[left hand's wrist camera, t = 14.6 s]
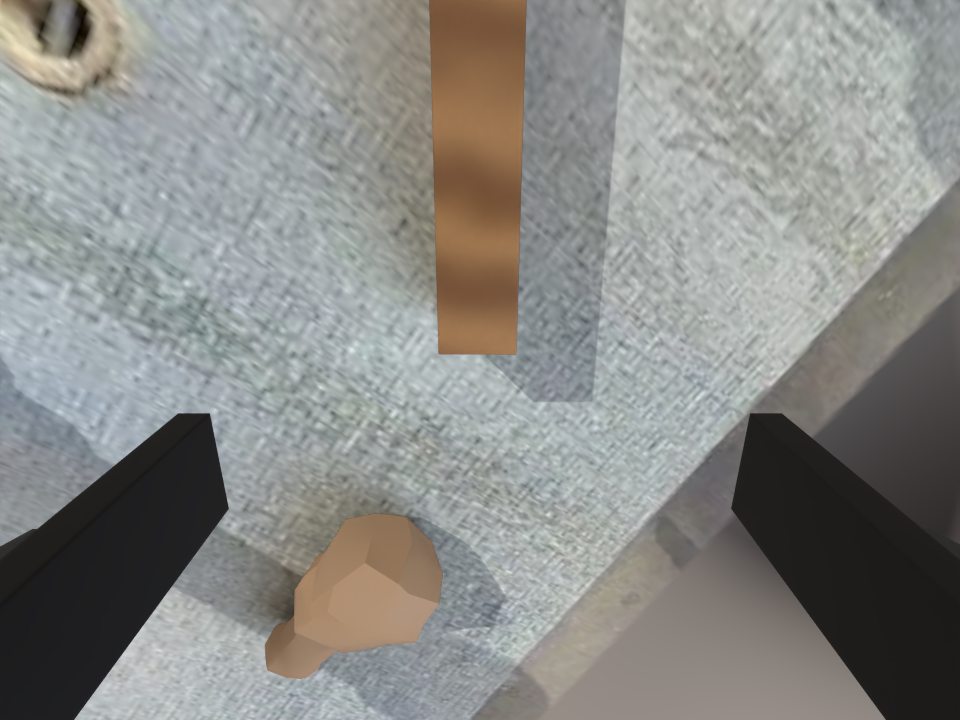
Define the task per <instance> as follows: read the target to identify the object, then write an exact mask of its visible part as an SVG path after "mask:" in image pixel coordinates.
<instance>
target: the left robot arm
mask: <svg viewBox="0 0 960 720" xmlns="http://www.w3.org/2000/svg"><path fill="white" fill-rule="evenodd" d="M228 509H229V507H228V502H227V497H226V492H225V487H224V482H223V477H222V472H221V467H220V462H219V457H218V452H217V447H216V442H215V437H214V432H213V427H212V422H211V417H210V413H178V414H177V415H176V416H175V417H173V418H172V419H171V420H170V421H168V422H167V423H166V424H165V425H164V426H162V427H161V428H160V429H159V430H158V431H156V432H155V433H154V434H153V435H151V436H150V437H149V438H148V439H147V440H145V441H144V442H143V443H142V444H140V445H139V446H138V447H137V448H136V449H134V450H133V451H132V452H131V453H129V454H128V455H127V456H126V457H125V458H123V459H122V460H121V461H120V462H119V463H117V464H116V465H115V466H114V467H112V468H111V469H110V470H109V471H108V472H106V473H105V474H104V475H103V476H101V477H100V478H99V479H98V480H97V481H95V482H94V483H93V484H92V485H90V486H89V487H88V488H87V489H86V490H84V491H83V492H82V493H81V494H79V495H78V496H77V497H76V498H75V499H73V500H72V501H71V502H70V503H69V504H67V505H66V506H65V507H64V508H62V509H61V510H60V511H59V512H58V513H56V514H55V515H54V516H53V517H51V518H50V519H49V520H48V521H47V522H45V523H44V524H43V525H42V526H40V527H39V528H38V529H32V530H30V531H28V532H26V533H24V534H23V535H21V536H19V537H17V538H15V539H13V540H12V541H10V542H8V543H6V544H4V545H2V546H0V720H74V719H75V718H76V716H77V715H78V714H79V712H80V711H81V710H82V708H83V707H84V705H85V704H86V703H87V701H88V700H89V699H90V697H91V696H92V695H93V693H94V692H95V690H96V689H97V688H98V686H99V685H100V684H101V682H102V681H103V680H104V678H105V677H106V675H107V674H108V673H109V671H110V670H111V669H112V667H113V666H114V665H115V663H116V662H117V660H118V659H119V658H120V656H121V655H122V654H123V652H124V651H125V650H126V648H127V647H128V645H129V644H130V643H131V641H132V640H133V639H134V637H135V636H136V635H137V633H138V632H139V630H140V629H141V628H142V626H143V625H144V624H145V622H146V621H147V620H148V618H149V617H150V615H151V614H152V613H153V611H154V610H155V609H156V607H157V606H158V605H159V603H160V602H161V600H162V599H163V598H164V596H165V595H166V594H167V592H168V591H169V590H170V588H171V587H172V585H173V584H174V583H175V581H176V580H177V579H178V577H179V576H180V575H181V573H182V572H183V570H184V569H185V568H186V566H187V565H188V564H189V562H190V561H191V560H192V558H193V557H194V555H195V554H196V553H197V551H198V550H199V549H200V547H201V546H202V545H203V543H204V542H205V540H206V539H207V538H208V536H209V535H210V534H211V532H212V531H213V530H214V528H215V527H216V525H217V524H218V523H219V521H220V520H221V519H222V517H223V516H224V514H225V513H226V512H227V510H228ZM731 509H732V510H733V512H734V513H735V514H736V516H737V517H738V519H739V520H740V521H741V523H742V524H743V525H744V527H745V528H746V529H747V531H748V532H749V533H750V535H751V536H752V538H753V539H754V540H755V542H756V543H757V545H758V546H759V547H760V549H761V550H762V551H763V553H764V554H765V555H766V557H767V558H768V559H769V561H770V562H771V564H772V565H773V566H774V568H775V569H776V570H777V572H778V573H779V574H780V576H781V577H782V579H783V580H784V581H785V583H786V584H787V585H788V587H789V588H790V590H791V591H792V592H793V594H794V595H795V596H796V598H797V599H798V600H799V602H800V603H801V605H802V606H803V607H804V609H805V610H806V611H807V613H808V614H809V615H810V617H811V618H812V619H813V621H814V622H815V624H816V625H817V626H818V628H819V629H820V630H821V632H822V633H823V635H824V636H825V637H826V639H827V640H828V641H829V643H830V644H831V645H832V647H833V648H834V650H835V651H836V652H837V654H838V655H839V656H840V658H841V659H842V660H843V662H844V663H845V665H846V666H847V667H848V669H849V670H850V671H851V673H852V674H853V675H854V677H855V678H856V680H857V681H858V682H859V684H860V685H861V686H862V688H863V689H864V690H865V692H866V693H867V695H868V696H869V697H870V699H871V700H872V701H873V703H874V704H875V705H876V707H877V708H878V710H879V711H880V712H881V714H882V715H883V716H884V718H885V719H886V720H960V544H958V543H956V542H954V541H953V540H951V539H949V538H947V537H945V536H943V535H941V534H940V533H938V532H936V531H934V530H932V529H930V528H928V527H919V526H918V525H917V524H916V523H915V522H913V521H912V520H911V519H910V518H908V517H907V516H906V515H905V514H904V513H902V512H901V511H900V510H899V509H898V508H896V507H895V506H894V505H893V504H891V503H890V502H889V501H888V500H887V499H885V498H884V497H883V496H882V495H880V494H879V493H878V492H877V491H876V490H874V489H873V488H872V487H871V486H869V485H868V484H867V483H866V482H865V481H863V480H862V479H861V478H860V477H859V476H857V475H856V474H855V473H854V472H852V471H851V470H850V469H849V468H848V467H846V466H845V465H844V464H843V463H841V462H840V461H839V460H838V459H837V458H835V457H834V456H833V455H832V454H831V453H829V452H828V451H827V450H826V449H824V448H823V447H822V446H821V445H820V444H818V443H817V442H816V441H815V440H813V439H812V438H811V437H810V436H809V435H807V434H806V433H805V432H804V431H802V430H801V429H800V428H799V427H798V426H796V425H795V424H794V423H793V422H792V421H790V420H789V419H788V418H787V417H785V416H784V415H783V414H782V413H750V417H749V422H748V427H747V432H746V437H745V442H744V447H743V452H742V457H741V462H740V467H739V472H738V477H737V482H736V487H735V492H734V497H733V502H732V507H731Z"/></svg>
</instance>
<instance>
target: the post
mask: <svg viewBox="0 0 960 720" xmlns="http://www.w3.org/2000/svg"><path fill="white" fill-rule="evenodd" d="M526 2H527V0H429V5H430V44H431V82H432V121H433V159H434V198H435V236H436V275H437V313H438V352H439V354H516V349H517V314H518V280H519V245H520V210H521V175H522V141H523V106H524V71H525V36H526Z"/></svg>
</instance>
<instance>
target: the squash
mask: <svg viewBox="0 0 960 720" xmlns="http://www.w3.org/2000/svg"><path fill="white" fill-rule="evenodd" d="M442 577H443V572H442V569H441V566H440V563H439V560H438V558H437V555H436V552H435V549H434V546H433V544H432V541H431V540H430V539H429V538H428V537H427V536H425V535H424V534H423V533H422V532H421V531H420V530H419V529H418V528H417V527H416V526H415V525H414V524H413V523H412V522H411V521H410V520H409V519H408V518H407V517H405V516H396V515H387V514H379V513H375V514H370V515H365V516H360V517H355V518H350V519H345V521H344V523H343V524H342V526H341V528H340V529H339V531H338V532H337V534H336V536H335V537H334V539H333V541H332V542H331V544H330V545H329V547H328V549H327V550H326V552H324V553H321V554H319V555H318V557H317V558H316V560H315V561H314V562H313V564H312V565H311V567H310V568H309V570H308V571H307V572H306V574H305V575H304V577H303V578H302V580H301V581H300V583H299V584H298V586H297V588H296V589H295V595H294V616H293V617H292V618H291V619H290V620H289V621H287V622H284V623H282V624H279V625H277V626H276V627H275V628H274V630H273V632H272V633H271V635H270V637H269V639H268V640H267V642H266V644H265V655H266V665H267V670H268V671H271V672H273V673H276V674H279V675H281V676H284V677H286V678H299V679H302V678H306V677H308V676H310V675H311V674H312V673H314V672H315V671H317V670H318V669H319V667H320V665H321V663H323V662H324V661H325V660H326V659H328V658H329V657H330V656H331V655H333V654H334V653H335V652H337V651H338V652H341V653H347V652H353V651H359V650H366V649H371V648H375V647H379V646H383V645H388V644H400V643H414V642H417V640H418V637H419V635H420V632H421V630H422V627H423V625H424V624H425V622H426V621H427V620H428V618H429V617H430V616H431V614H432V613H433V611H434V610H435V609H436V607H437V606H438V605H439V601H440V593H441V585H442Z"/></svg>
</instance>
